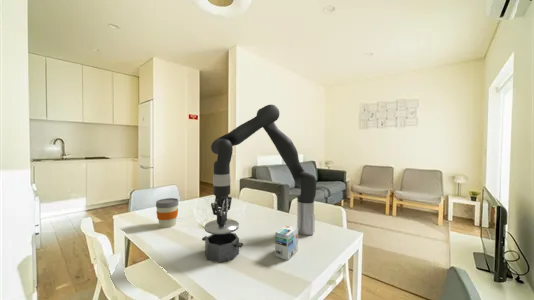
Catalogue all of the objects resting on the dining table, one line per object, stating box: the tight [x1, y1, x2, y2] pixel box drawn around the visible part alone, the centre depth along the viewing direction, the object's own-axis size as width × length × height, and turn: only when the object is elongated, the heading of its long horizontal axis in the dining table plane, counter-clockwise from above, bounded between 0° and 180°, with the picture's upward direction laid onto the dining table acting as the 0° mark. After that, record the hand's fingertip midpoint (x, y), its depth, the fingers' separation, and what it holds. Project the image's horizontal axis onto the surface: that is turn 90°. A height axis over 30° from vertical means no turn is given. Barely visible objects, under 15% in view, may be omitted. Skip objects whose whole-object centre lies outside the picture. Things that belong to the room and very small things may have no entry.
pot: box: [201, 232, 244, 264], centre depth 100 cm, size 20×14×7 cm
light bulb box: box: [274, 225, 299, 261], centre depth 101 cm, size 11×7×11 cm, turn 148°
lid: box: [204, 210, 240, 235], centre depth 100 cm, size 15×15×8 cm
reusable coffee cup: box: [155, 197, 179, 229], centre depth 135 cm, size 13×13×15 cm
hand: (222, 221), depth 100 cm, fingers closed on lid, 3 cm apart
